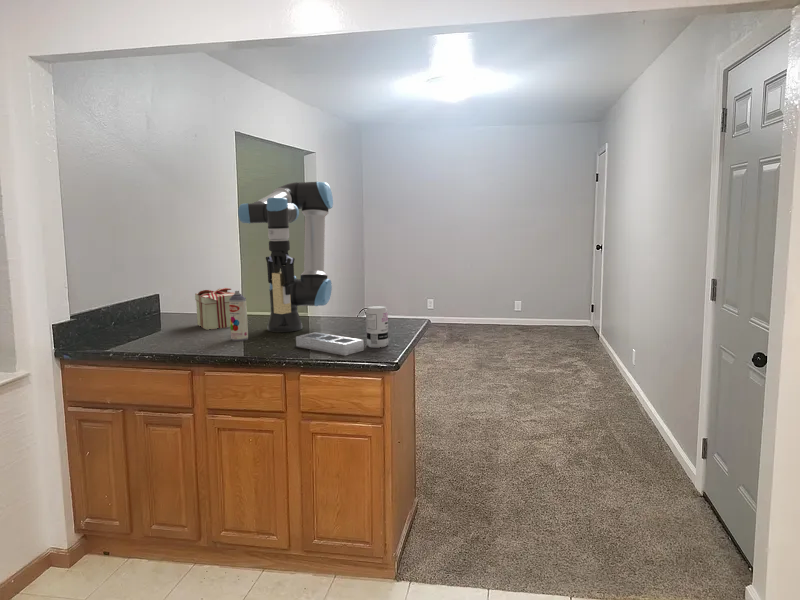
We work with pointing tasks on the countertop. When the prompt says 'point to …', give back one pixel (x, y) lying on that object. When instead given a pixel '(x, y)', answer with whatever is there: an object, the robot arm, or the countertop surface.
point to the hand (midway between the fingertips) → (282, 302)
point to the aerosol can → (238, 317)
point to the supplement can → (377, 326)
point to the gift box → (213, 308)
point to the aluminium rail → (330, 343)
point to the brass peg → (279, 295)
